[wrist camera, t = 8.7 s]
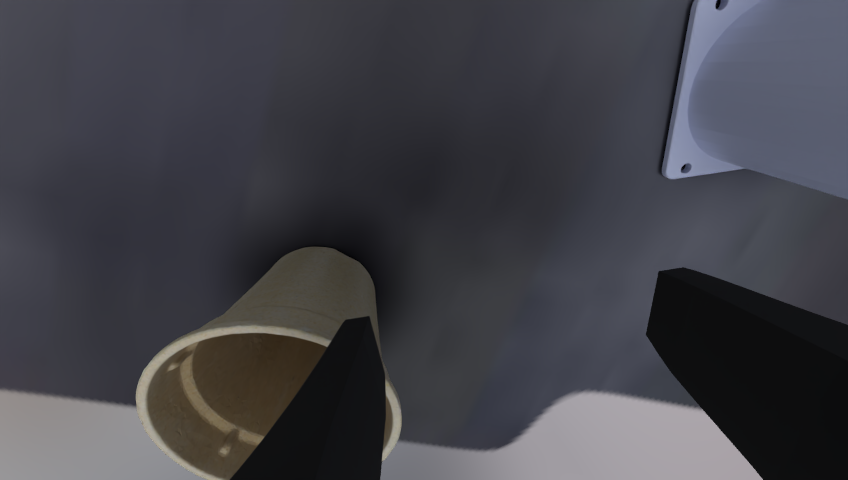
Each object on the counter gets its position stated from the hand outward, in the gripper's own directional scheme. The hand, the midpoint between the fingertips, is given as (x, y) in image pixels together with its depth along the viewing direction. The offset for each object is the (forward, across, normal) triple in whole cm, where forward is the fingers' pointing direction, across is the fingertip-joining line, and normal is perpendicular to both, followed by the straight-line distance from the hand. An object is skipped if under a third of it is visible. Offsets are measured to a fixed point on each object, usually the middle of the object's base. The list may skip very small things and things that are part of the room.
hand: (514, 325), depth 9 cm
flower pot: (+11, +8, +5) cm, 14 cm away
